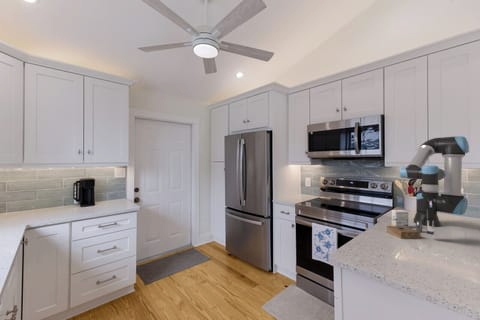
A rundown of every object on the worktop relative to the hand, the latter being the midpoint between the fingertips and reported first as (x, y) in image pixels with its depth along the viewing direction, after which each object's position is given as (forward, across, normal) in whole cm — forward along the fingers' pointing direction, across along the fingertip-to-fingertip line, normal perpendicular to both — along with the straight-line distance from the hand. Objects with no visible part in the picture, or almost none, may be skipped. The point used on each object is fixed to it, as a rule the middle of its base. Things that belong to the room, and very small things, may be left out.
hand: (430, 230), depth 125 cm
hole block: (+5, +1, -13) cm, 14 cm away
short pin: (+6, -14, -5) cm, 16 cm away
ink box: (+6, -18, -15) cm, 24 cm away
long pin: (+2, 0, 0) cm, 2 cm away
